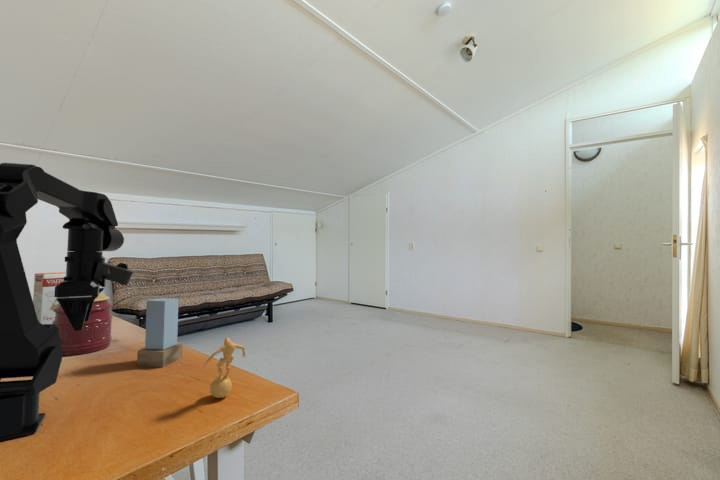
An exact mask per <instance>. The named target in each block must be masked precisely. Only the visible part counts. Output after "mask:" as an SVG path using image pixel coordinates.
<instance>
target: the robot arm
mask: <svg viewBox="0 0 720 480" xmlns="http://www.w3.org/2000/svg"><path fill="white" fill-rule="evenodd" d="M38 201H41V202H44V203H47V204H49V205H51V206H52V205H53V206H55V207H57V208H58V212H59V214H61V215H62V216H64V217H66V218H67V219H68V221H66V222H65V223H64V224H63V225H62V228H63V230H65V229H66V230H68V231H67V249H66V255H65V257H64V262H65V263H66V266H65V267H66V269H65V272H66V276H65V277H64V281H63V282H61V283H60V284H59V285H57V286H56V287H55V296H54V297H58V298H57V301H58V302H59V304H60V305H61V307H62V309H63V310H64V312H65V314H66V316H67V317H68V319H69V321H70V323H71V325H72V327H73V329H74V330H75V331H79V330H82V328H83V324H84V322H85V321H88V320H89V316H90V313H91V310H92V306H93V303H94V300H95V299H96V298H97V297H98V296H99V295H98V294H99V293H102V292H103V291H104V290H105V287H106V286H107V285H106V284H107V281H111V282H114V283H118V284H119V285H122V286H128V284H129V283H130V280H131V278H132V276H133V274H134V272H135V271H134V270H132V269H129V266H128V264H126V263H123V262H119V263H118V264H117V265H114V264H110V263H107V262H106V258H105V257H104V255H103V252H115V251H117V250H119V249H121V247H122V246H123V244H124V243H125V237H124V235H123V233H122V232H121V231H120V230H119V229H117V228H116V227H118V225H119V223H118V219H117V217H116V214H115V211H114V208H113V204H112V202H111V200H110V199H109V197H108V196H107V195H106V194H105V193H101V192H96V191H90V190H89V191H88V190H83V189H82V190H81V189H79V188H78V187H76V186H73V185H72V184H69V183H67V182H66V181H63V180H62V179H60V178H57V177H55V176H54V175H52V174H49V173H47V172H45V170H44V169H43V168H42V167H40V166H37V165H34V164H28V163H16V162H15V163H14V162H1V163H0V440H1V441H5V440H10V439H14V438H18V437H23V436H24V437H25V436H28V435H33V434H35V433H36V432H38V430H39V428H40V426H41V425H42V423H43V421H44V419H45V417H46V412H41V413H39V412H40V397H41V396H40V394H41V392H42V391H44V390H46V389H48V388H49V387H51V386H53V385H55V384H56V383H57V380H58V375H59V372H60V368H61V364H62V361H63V356H64V355H63V350H62V348H61V346H60V344H62V341H61V340H60V338H59V333H58V328H57V326H56V325H55V324H41V323H40V322H39V321H38V319H37V315H36V312H35V308H34V304H33V296H32V293H31V290H30V286H29V282H28V278H27V275H26V271H25V268H24V264H23V260H22V257H21V252H20V250H19V246H18V238H19V237H20V234H21V233H22V231H23V230H24V228H25V226H26V225H27V222H28V221H27V212H28V211H29V210H30V209H31V208H33V207H34V206H36V205H37V204H38ZM16 378H19V380H18V379H17V380H6V381H4V379H16ZM20 378H31V379H22V380H20ZM2 380H3V381H2Z"/></svg>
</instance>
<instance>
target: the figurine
mask: <svg viewBox="0 0 720 480" xmlns="http://www.w3.org/2000/svg"><path fill="white" fill-rule="evenodd" d="M235 349H240V350H241V353H242V354H241V356H242V357H246V351H245V346H243V345H241V344H237V343H234V342H233V341H232V340H231V339H230V338H229V337H226V338H225V339H224V341H223V345H222V346H221V347H220V348H219V349H217V350H215V351H214V352H213V353H212V354H211V355H210V356H209V358H208V359H207V360H206V361H205V363H204V365H203V369H204V368H205V366H206V365H207V364H208V363H210V362H211V360H212V359H213V358H214V357H215V356H216V355H219V354H220V353H221V352H222V355H223V357H220V358H219V361H218V362H217V364H216V368H217V370H218V371H217V372H218V373H219V374H218V376H217V377H215V378H214V379H213V380H212V382H211V384H210V386H209V391H210V392H209V393H210V394H211V396H213V397H214V398H217V399H222V398H225V397H226V396H229V395H228V394H230V392H231V390H232V388H233V384H232V383H233V382H232V381H231V379H230V378H229V377H228V376H229V374H230V370H231V367H230V366H229V365H231V364H232V362H233V361H234V355H233V354H234V352H235V351H236V350H235ZM224 364H225V366H226V373H225V374H224V375H223V370H222V368H221V367H223V366H224Z"/></svg>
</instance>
